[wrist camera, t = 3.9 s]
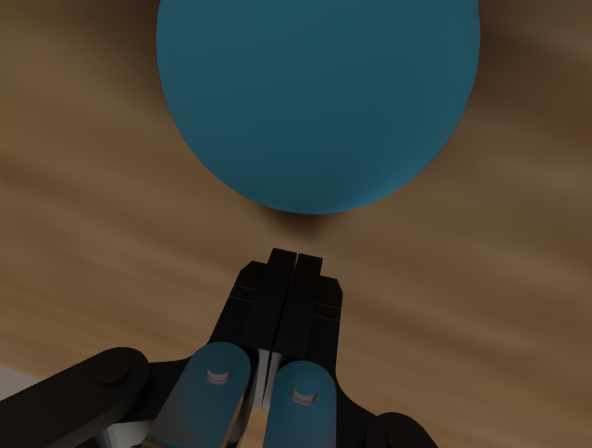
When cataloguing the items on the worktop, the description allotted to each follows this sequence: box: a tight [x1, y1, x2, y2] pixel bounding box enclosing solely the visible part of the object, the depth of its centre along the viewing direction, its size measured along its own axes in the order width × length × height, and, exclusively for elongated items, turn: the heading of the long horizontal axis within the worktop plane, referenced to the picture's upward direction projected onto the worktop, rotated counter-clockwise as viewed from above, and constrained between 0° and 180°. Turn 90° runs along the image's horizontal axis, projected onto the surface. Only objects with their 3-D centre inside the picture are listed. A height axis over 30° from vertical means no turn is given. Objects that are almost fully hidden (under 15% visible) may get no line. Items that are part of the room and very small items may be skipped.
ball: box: [156, 0, 481, 214], centre depth 7 cm, size 6×6×6 cm
